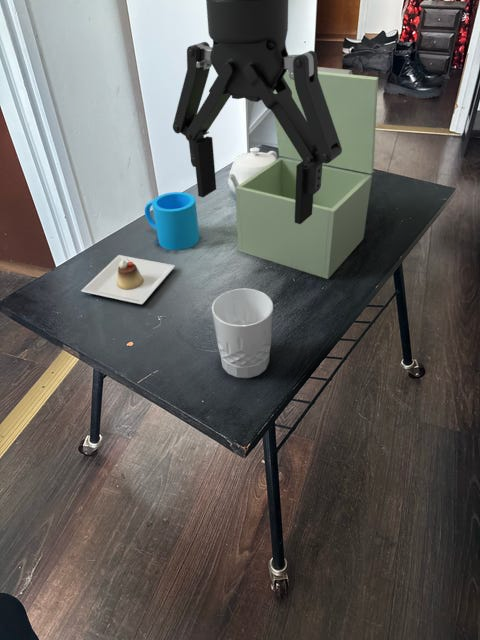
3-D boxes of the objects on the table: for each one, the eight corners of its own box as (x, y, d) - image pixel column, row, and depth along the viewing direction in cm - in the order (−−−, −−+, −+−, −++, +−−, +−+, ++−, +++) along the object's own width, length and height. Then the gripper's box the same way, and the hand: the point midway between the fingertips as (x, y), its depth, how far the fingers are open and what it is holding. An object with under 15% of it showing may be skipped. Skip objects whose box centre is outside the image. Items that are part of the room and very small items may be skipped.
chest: (328, 279, 82) (334, 211, 74) (238, 251, 90) (235, 187, 82) (363, 239, 92) (372, 175, 83) (279, 217, 100) (280, 157, 92)
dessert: (176, 270, 86) (172, 247, 83) (143, 309, 78) (138, 285, 74) (119, 259, 90) (114, 237, 87) (82, 296, 81) (74, 273, 78)
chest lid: (376, 79, 70) (391, 61, 73) (268, 68, 79) (285, 52, 81) (371, 174, 83) (384, 155, 86) (279, 155, 91) (293, 139, 94)
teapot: (256, 217, 100) (254, 171, 94) (207, 205, 106) (203, 160, 99) (298, 182, 113) (299, 138, 106) (253, 172, 118) (252, 131, 112)
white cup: (283, 354, 68) (284, 298, 62) (254, 390, 63) (252, 333, 57) (236, 336, 72) (233, 281, 65) (206, 368, 67) (199, 313, 60)
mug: (207, 235, 95) (203, 197, 90) (182, 254, 90) (177, 215, 85) (161, 221, 101) (155, 185, 95) (135, 239, 95) (127, 201, 90)
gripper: (119, -10, 46) (153, 194, 60) (359, -4, 35) (334, 246, 48) (169, -18, 51) (191, 173, 64) (396, -15, 39) (364, 216, 53)
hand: (252, 205), depth 56 cm, fingers open, 13 cm apart
